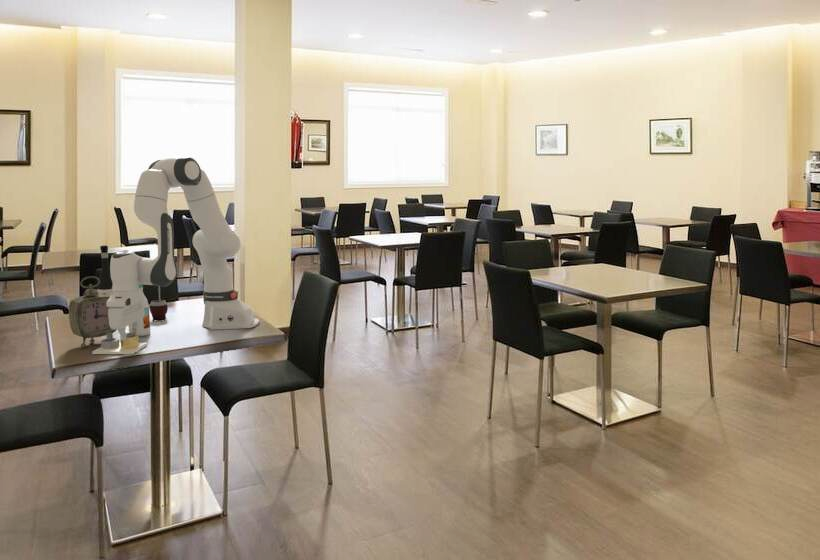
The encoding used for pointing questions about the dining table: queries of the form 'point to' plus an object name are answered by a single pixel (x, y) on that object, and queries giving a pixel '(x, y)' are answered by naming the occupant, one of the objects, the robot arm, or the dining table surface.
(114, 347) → the gear board
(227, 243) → the robot arm
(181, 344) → the dining table surface
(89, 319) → the tabletop clock
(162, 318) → the mate gourd
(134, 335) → the brass gear
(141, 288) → the milk bottle
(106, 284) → the wine bottle
